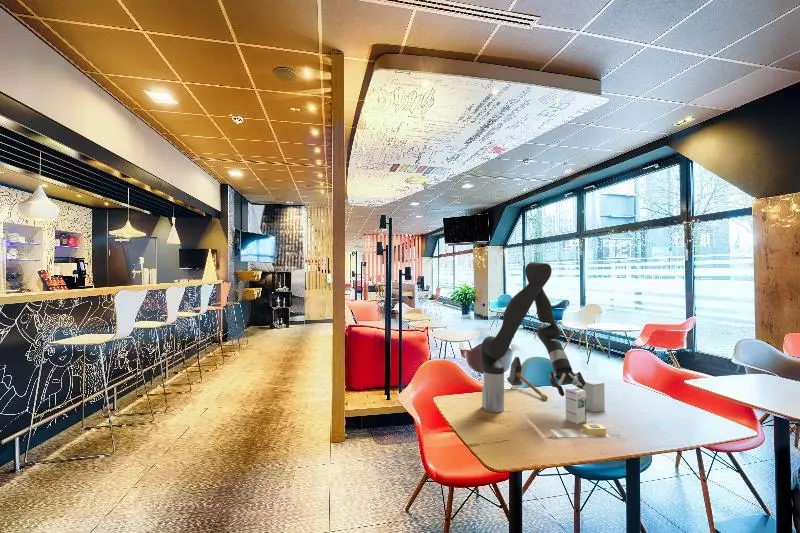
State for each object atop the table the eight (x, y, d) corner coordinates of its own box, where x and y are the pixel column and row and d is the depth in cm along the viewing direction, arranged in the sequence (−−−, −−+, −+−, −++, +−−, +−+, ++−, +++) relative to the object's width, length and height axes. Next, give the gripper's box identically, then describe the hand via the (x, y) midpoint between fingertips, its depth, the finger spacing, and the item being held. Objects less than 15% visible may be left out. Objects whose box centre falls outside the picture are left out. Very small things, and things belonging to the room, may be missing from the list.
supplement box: (605, 410, 169) (605, 382, 169) (593, 412, 167) (592, 384, 167) (592, 404, 176) (592, 378, 176) (580, 406, 174) (580, 379, 174)
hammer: (543, 382, 179) (510, 355, 208) (538, 411, 183) (506, 381, 211) (553, 381, 181) (519, 354, 209) (548, 410, 184) (515, 380, 212)
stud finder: (588, 435, 140) (588, 428, 140) (582, 430, 144) (582, 423, 144) (606, 434, 140) (606, 428, 140) (600, 430, 144) (600, 423, 144)
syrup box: (577, 427, 150) (577, 392, 150) (565, 422, 155) (565, 388, 155) (586, 425, 153) (586, 390, 153) (574, 419, 158) (574, 386, 158)
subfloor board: (562, 445, 134) (562, 441, 134) (545, 428, 148) (545, 425, 148) (615, 444, 135) (615, 440, 135) (594, 428, 149) (594, 425, 149)
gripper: (547, 357, 165) (559, 391, 154) (578, 357, 166) (592, 391, 154) (542, 366, 171) (553, 399, 159) (572, 366, 171) (585, 399, 160)
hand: (572, 395), depth 157 cm, fingers open, 8 cm apart
